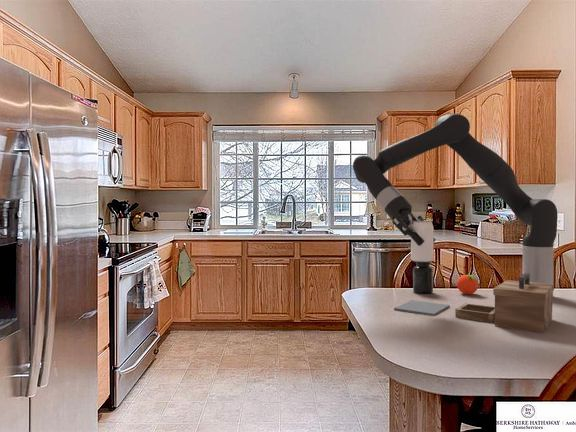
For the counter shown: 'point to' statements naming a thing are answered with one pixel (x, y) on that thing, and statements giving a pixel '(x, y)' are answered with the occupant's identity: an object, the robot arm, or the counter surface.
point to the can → (426, 249)
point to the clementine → (467, 284)
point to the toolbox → (515, 306)
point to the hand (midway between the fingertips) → (427, 243)
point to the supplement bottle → (423, 278)
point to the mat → (422, 307)
